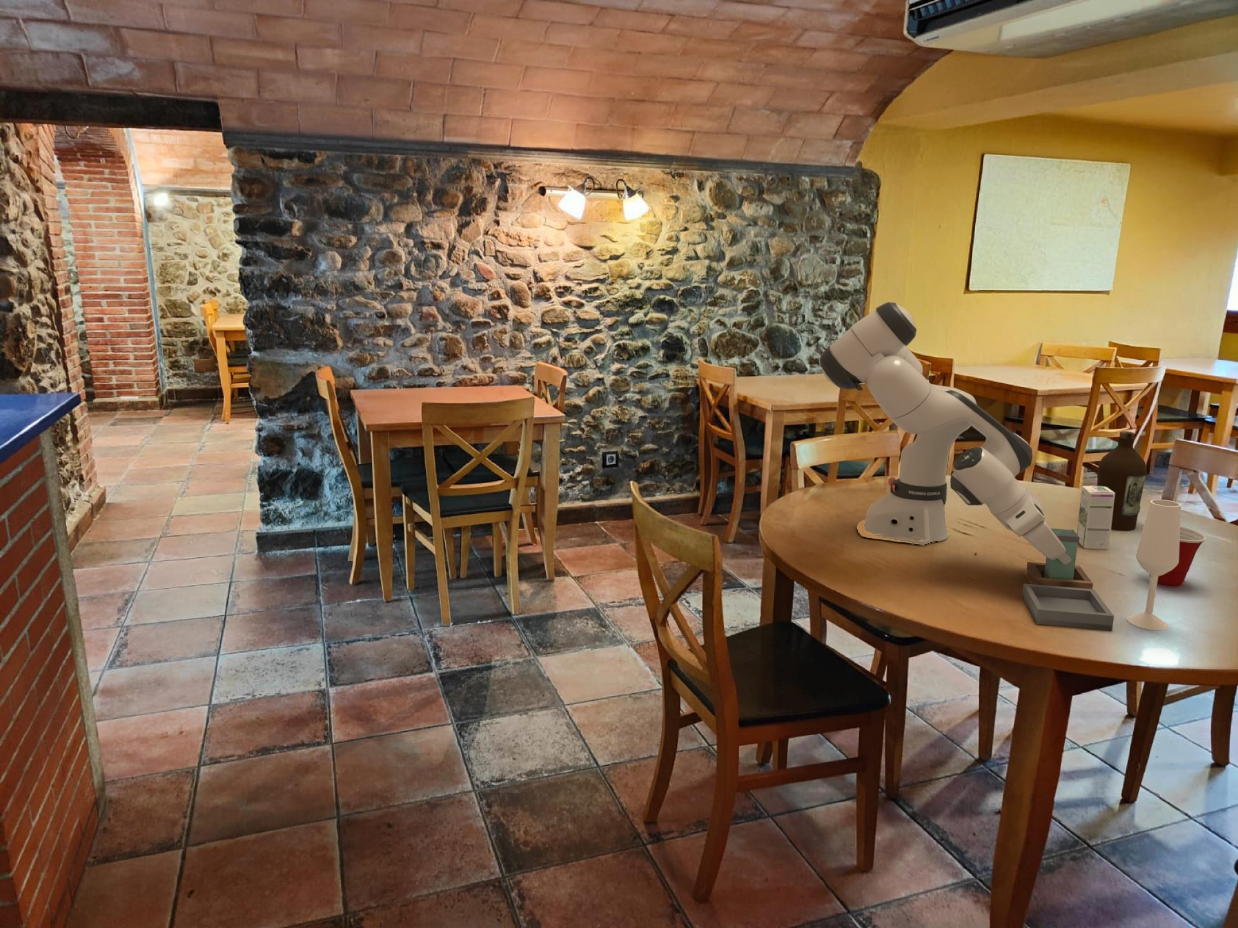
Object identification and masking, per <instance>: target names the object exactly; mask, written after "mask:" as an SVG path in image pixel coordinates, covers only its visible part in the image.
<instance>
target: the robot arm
mask: <svg viewBox="0 0 1238 928" xmlns="http://www.w3.org/2000/svg"><path fill="white" fill-rule="evenodd" d="M917 329H918V328H917V327H916V323H915V320H914V317H913V315H912V314H911V313H910V311H909V310H907V309H906V308H905V307H903V306H902V305H899V304H897V303H896V302H890V301H888V302H885V303H883V304H881V305H879V306H877V307H875V310H874V311H871V312H870V313H869V314H867V315H866V316H864V317H862V318H861V319H860V320H858V321H856V322H855V323H854V324H852V325H851V327H850V328H849V329H848V330H846V331H845V332H844V333H843V334H842V335H841V336H839V337H838V338H837V340H835V341H834V342H833V344H831V346H827V347H826V348H825V350H824V351H823V352H822V353H821V354H820V357H819V364H820V368H821V372H822V373H823V375H824V377H825V378H826V379H827V381H828V382H830V383H831V384H833V385H834V386H836V387H837V388H839V389H843V390H850V391H851V390H857V391H859V392H861V391H864V389H863V387H862V385H861V384H865V386H866V387H867V388H868V390H869V392H870V394H871V395H872V397H873V398H874V401H876V403H877V405H878V406H879V408H880V409H881V410H882V411H883V412H884V414H885V415H886V416H887V417H888V418H889V420H891V422H892V423H893V424H895V426H897V427H898V428H899V429H900V430H902V431H903V432H905V433H908V434H911V435H917V436H916V438H915V440H914V441H913V442H911V443H908V444H907V445H905V446H904V447H903V449H902V450H901V452H900V453H901V454H900V463H899V465H900V466H899V478H897V479H896V478H895V477H894V476H893V477H891V476H890V477H889V478H888V479H887V481H888V482H887V483H888V485H889V486H890V489H889V490H890V492H889V493H888V494H886V495H884V496H883V497H881V498H879V499H878V500H876V501H873V502H872V503H871V504H870V506H869V507H868V509H867V512H866V516H865V518H864V519H865V524H864V527H865V530H866V531H868V532H871V533H872V534H881V535H875V536H879V537H880V536H881V537H883V538H890V539H894V540H901V541H908V542H912V543H919V544H927V543H929V544H931V543H930V542H932V541H938V542H943V541H945V540H946V539H948V538H949V534H948V529H947V523H946V514H945V513H946V511H945V506H946V505H947V504H946V502H947V499H948V483H947V472H948V471H947V469H948V461H949V456H950V453H951V450H952V447H953V445H954V443H955V441H956V440H957V438H959V436H960V435H961V434H962V433H964V432H966V431H967V430H968V429H969V428H971V427H972V428H973V429H975V430H976V431H978V432H979V433H980V434H982V435H983V437H985V441H984V443H983V444H982V445H981V446H975V447H971V448H969V449H967V450H965V451H964V452H963V453H961V454H960V455H959V456H958V457H957V458H956V459H955V461H954V464H953V468H952V469H953V472H952V474H951V475H950V479H949V481H950V482H949V484H950V489H952V490H953V492H954V493H956V494H957V495H958V496H959V497H960V499H961V500H962V501H963V502H964V503H965V504H966V505H967V506H983V505H984V504H985V506H987V508H988V510H989V512H990V513H991V514H992V515H993V516H994V517H995V518H996V519H997V520H998V521H999V522H1000V523H1001V525H1003V527H1004V528H1005V529H1007V530H1009V531H1010V532H1011V531H1012V532H1013V534H1015V535H1017V537H1018V538H1021V537H1022V538H1023V539H1025V541H1027V543H1029V544H1030V545H1032V547H1034V548H1035V549H1036V550H1037V551H1039V552H1040V553H1041V554H1042V555H1043V556H1045V558H1046V557H1047V558H1049V559H1050V560H1055V559H1056V558H1058V559H1059V560H1060V561H1061V562H1062V563H1063V564H1068V563H1069V562H1071V558H1070V557H1069V556H1068V555H1067V554H1066V553H1065V552H1066V549H1065V547H1064V546H1063V544H1062V543H1061V541H1060V540H1059V539H1058V538H1057V536H1056V535H1055V534H1054V532H1053V531H1052V530H1051V527H1050V525H1049V524H1048V523H1047V521H1046V517H1045V514H1044V513H1043V508H1042V507H1043V503H1042V501H1041V500H1040V499H1039V498H1038V497H1037V496H1036V495H1035V494H1034V493H1033V492H1032V491H1031V490H1030V489H1029V488H1028V487H1027V486H1026V485H1025V484H1024V483H1022V482H1020V481H1018V479H1017V478H1016V476H1017V475H1019V474H1021V473H1022V472H1024V471H1025V470H1026V469H1028V468H1029V467H1031V466H1032V461H1033V448H1032V447H1031V446H1030V444H1029V443H1028V441H1026V440H1025V439H1024V438H1022V436H1021V435H1018V434H1017V433H1015V432H1012V431H1011V430H1010V429H1009V428H1007V427H1006V426H1004V425H1003V424H1002V423H1000V422H999V421H998V420H997V419H996V418H994V417H993V416H992V415H991V414H989V413H988V412H987V411H986V410H984V409H983V408H982V407H980V406H979V404H978V403H977V401H976V399H975V397H974V396H973V395H972V394H970V393H968V392H966V391H963V390H961V389H959V388H956V387H953V386H952V387H951V386H945V385H938V384H933V383H930V382H929V381H928V379H926V377H925V376H924V375H923V371H924V369H923V364H922V363H921V361H920V360H919V359H918V358H917V357H916V355H915V354H914V353H912V351H911V350H910V349H909V348H908V345H909V344H910V343H912V341H913V340H914V339H915V337H916V336H917V335H916V334H917ZM932 543H933V542H932ZM927 545H928V544H927Z"/></svg>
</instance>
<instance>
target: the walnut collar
mask: <svg viewBox="0 0 1238 928" xmlns="http://www.w3.org/2000/svg"><path fill="white" fill-rule="evenodd" d="M1045 564H1046V562H1036V561H1035V562H1034V561H1027V562H1026V570H1025V576H1026V577H1027V579H1028V580H1029V582H1030V584H1033V585H1045V586H1058V587H1071V588H1083V589H1094V588H1093V586H1094V582H1093V581H1092V580H1091V579H1090V577H1089V576H1088V575H1087V573H1086V572H1085V571H1084V570H1083V568H1082V566H1080V565H1079V564H1078V565H1076V564H1075V569H1074V577H1073V580H1067V579H1054V578H1044V572H1045Z"/></svg>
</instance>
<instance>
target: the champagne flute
mask: <svg viewBox="0 0 1238 928" xmlns="http://www.w3.org/2000/svg"><path fill="white" fill-rule="evenodd" d="M1146 512H1147V513H1146V517H1145V520H1144V525H1143V528H1142V532H1141V534H1140V535H1141V536H1140V540H1139V543H1138V546H1137V550H1136V554H1135V557H1136V560H1137V562H1138V564H1139V566H1141V568H1142V569H1143V570H1144V571H1145V572H1146V573H1147V574H1148V575H1149V577H1150V575H1151V577H1150V578H1149V585H1148V591H1147V597H1146V598H1147V599H1146V603H1145V604H1146V605H1145V611H1144V612H1141V613H1137V614H1132V615H1128V616H1127V617H1126V620H1127V621H1128V622H1129V624H1132V625H1133V626H1135V627H1136V626H1137V627H1139V628H1143V629H1147V630H1152V631H1161V630H1167V629H1168V627H1169V624H1168V623H1167V622H1165V621H1164V620H1162V619H1161V618H1159V617H1158V616H1156V615H1155V614H1154V613H1153V612H1154V607H1155V606H1154V605H1155V598H1156V593H1157V586H1158V584H1157V581H1158V576H1161V575H1163V574H1165V573H1167V572H1169V571H1171V570H1172V569H1174V568H1175V567H1176V566H1177V565H1178V563H1179V542H1180V526H1181V518H1182V517H1181V516H1182V515H1181V513H1182V504H1181V503H1179V502H1178V501H1174V500H1168V499H1151V500H1150V501H1149V505H1148V509H1147V511H1146Z"/></svg>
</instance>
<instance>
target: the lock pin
mask: <svg viewBox="0 0 1238 928" xmlns="http://www.w3.org/2000/svg"><path fill="white" fill-rule="evenodd" d="M1050 528H1051V527H1050ZM1051 530H1052V531H1053V532H1054V534H1055V535H1056V536H1057V538H1058V539H1059V540H1060V541H1061V543H1062V544H1063V546H1064V547H1065V549H1066V552H1065V553H1066V554H1067V555H1068V556H1069V557H1070V558H1071V562H1069V563H1068V564H1063V563H1062V562H1061V561H1060V560H1059V559H1058V558H1056V559H1055V560H1050V559H1049V558H1047V557H1046V556H1045V563H1046V564H1045V572H1044V578H1054V579H1067V580H1073V577H1074V569H1075V565H1076V562H1077V560H1076V559H1077V553H1078V544H1079V543H1078V542H1079V536H1078V535H1077V531H1075V530H1074V529H1065V528H1051Z"/></svg>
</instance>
